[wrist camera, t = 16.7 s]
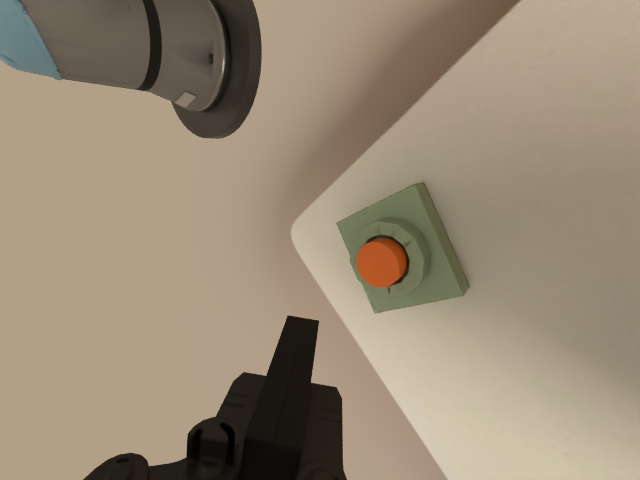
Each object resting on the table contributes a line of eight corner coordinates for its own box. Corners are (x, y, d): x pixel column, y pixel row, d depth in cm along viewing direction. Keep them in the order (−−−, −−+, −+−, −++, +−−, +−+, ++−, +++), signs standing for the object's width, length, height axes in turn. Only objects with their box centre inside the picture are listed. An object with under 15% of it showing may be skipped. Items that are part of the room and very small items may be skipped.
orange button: (359, 245, 28) (349, 250, 26) (396, 231, 25) (387, 235, 24) (376, 285, 27) (367, 292, 26) (415, 274, 25) (407, 281, 23)
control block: (347, 219, 32) (325, 226, 29) (423, 182, 26) (406, 185, 23) (384, 305, 32) (365, 321, 29) (469, 286, 26) (458, 304, 23)
